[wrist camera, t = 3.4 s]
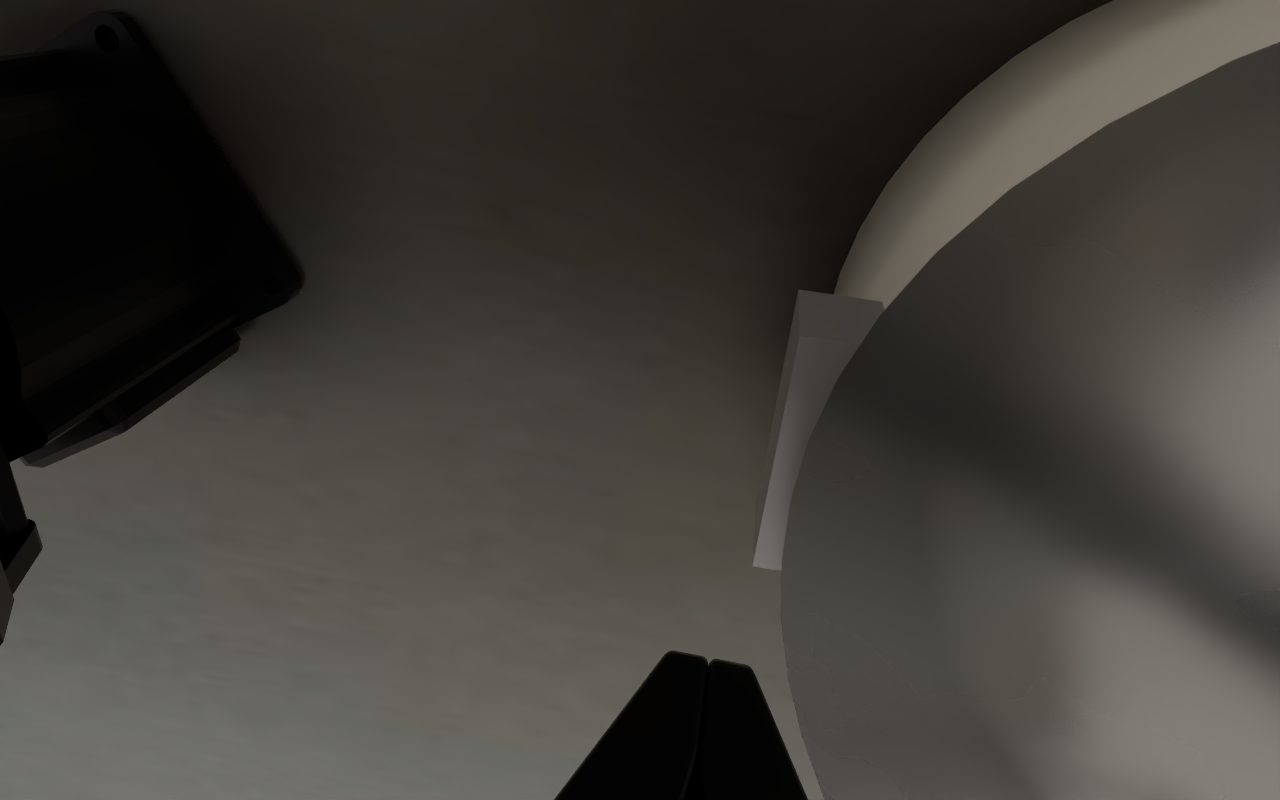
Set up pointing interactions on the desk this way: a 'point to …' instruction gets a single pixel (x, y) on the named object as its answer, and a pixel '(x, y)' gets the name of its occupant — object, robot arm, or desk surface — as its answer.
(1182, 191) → the cooker lid
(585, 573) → the desk surface
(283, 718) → the desk surface
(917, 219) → the cooker body
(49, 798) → the desk surface
